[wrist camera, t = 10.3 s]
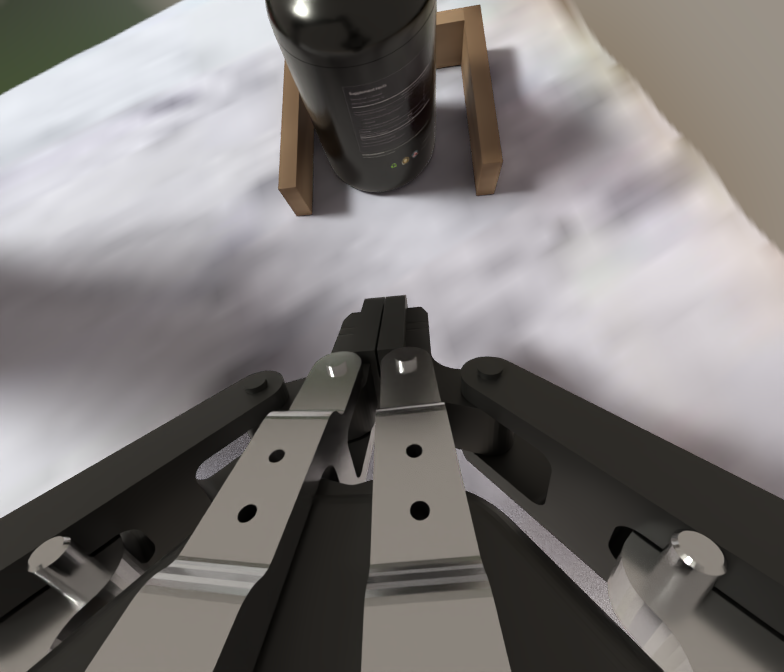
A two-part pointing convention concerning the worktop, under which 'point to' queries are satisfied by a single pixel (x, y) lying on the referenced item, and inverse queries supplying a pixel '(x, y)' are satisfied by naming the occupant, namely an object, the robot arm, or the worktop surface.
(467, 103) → the walnut frame
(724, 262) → the worktop surface
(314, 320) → the worktop surface
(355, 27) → the supplement bottle
